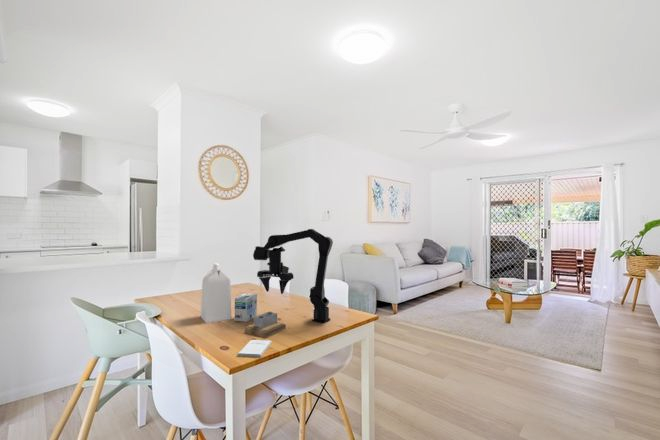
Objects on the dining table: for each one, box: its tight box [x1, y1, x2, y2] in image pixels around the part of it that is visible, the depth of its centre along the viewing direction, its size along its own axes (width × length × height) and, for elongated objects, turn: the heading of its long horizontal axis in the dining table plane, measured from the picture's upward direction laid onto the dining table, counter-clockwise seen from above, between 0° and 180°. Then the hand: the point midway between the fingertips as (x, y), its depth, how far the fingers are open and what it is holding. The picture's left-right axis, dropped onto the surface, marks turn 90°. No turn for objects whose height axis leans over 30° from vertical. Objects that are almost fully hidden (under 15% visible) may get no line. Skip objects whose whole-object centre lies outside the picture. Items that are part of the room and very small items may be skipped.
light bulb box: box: [234, 293, 258, 323], centre depth 143 cm, size 11×7×11 cm, turn 169°
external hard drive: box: [237, 339, 272, 358], centre depth 106 cm, size 2×8×12 cm
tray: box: [244, 321, 287, 339], centre depth 125 cm, size 12×12×2 cm
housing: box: [253, 311, 278, 329], centre depth 126 cm, size 9×5×5 cm, turn 150°
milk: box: [200, 262, 233, 324], centre depth 143 cm, size 12×12×26 cm
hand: (274, 292), depth 144 cm, fingers open, 9 cm apart
